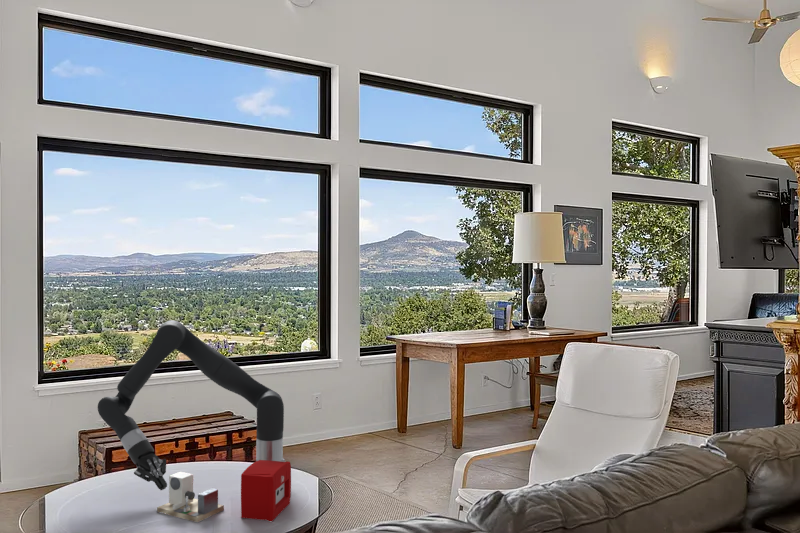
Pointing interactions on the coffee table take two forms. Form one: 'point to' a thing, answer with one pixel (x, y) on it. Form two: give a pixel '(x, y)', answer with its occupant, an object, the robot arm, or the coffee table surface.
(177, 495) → the block
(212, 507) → the grey metal square plate
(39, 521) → the coffee table surface
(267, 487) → the fire alarm
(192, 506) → the gauge stand
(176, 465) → the coffee table surface
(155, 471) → the robot arm
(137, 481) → the coffee table surface
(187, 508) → the grey metal lever
